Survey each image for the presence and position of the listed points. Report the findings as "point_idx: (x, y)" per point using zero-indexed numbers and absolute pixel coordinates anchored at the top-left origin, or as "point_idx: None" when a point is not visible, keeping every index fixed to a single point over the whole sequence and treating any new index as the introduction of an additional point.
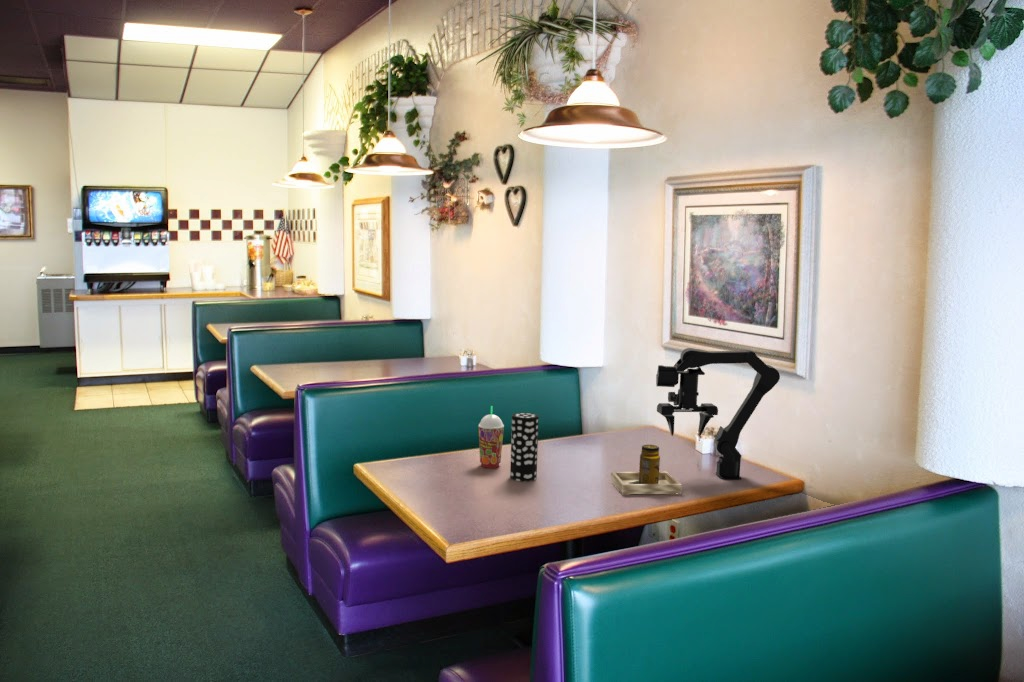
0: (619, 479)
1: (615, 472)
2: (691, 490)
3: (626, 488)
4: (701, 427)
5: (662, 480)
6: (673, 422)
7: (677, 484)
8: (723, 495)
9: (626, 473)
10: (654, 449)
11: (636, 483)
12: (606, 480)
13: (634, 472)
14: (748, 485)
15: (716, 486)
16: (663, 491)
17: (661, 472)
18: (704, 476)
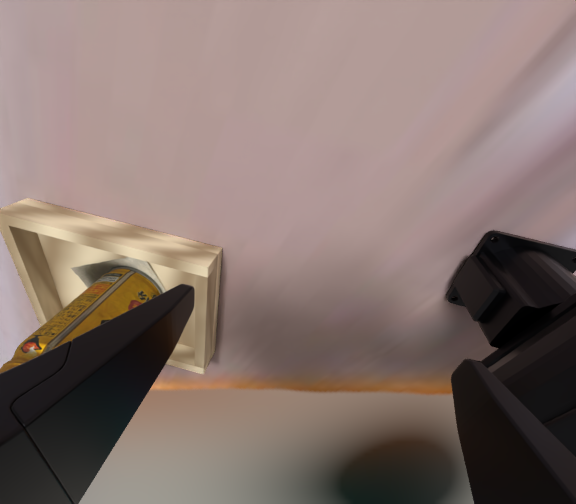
0: (29, 289)
1: (8, 219)
2: (259, 338)
3: None
4: (476, 493)
5: (191, 274)
6: (76, 486)
7: (193, 370)
8: (322, 388)
9: (51, 235)
10: None
11: (99, 276)
12: (11, 181)
13: (79, 240)
14: None
15: (358, 338)
16: None
17: (182, 270)
18: (406, 242)
